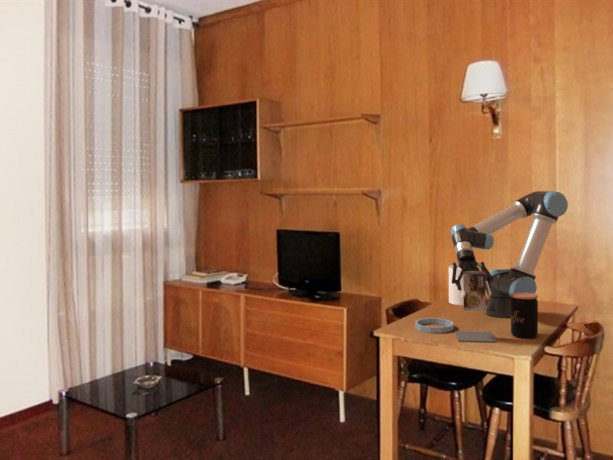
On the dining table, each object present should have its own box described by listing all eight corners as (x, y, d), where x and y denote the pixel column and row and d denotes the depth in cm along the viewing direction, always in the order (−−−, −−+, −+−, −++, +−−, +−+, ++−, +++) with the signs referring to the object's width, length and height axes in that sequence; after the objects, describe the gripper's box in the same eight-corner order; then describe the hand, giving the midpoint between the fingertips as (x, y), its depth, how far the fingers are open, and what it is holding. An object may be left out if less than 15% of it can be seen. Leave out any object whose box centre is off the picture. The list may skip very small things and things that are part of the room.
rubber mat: (490, 333, 226) (490, 331, 226) (496, 342, 212) (496, 341, 212) (454, 332, 229) (454, 331, 229) (458, 341, 215) (458, 340, 215)
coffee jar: (506, 333, 226) (506, 292, 224) (529, 331, 227) (529, 291, 225) (518, 340, 215) (518, 297, 214) (542, 338, 216) (543, 296, 215)
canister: (443, 300, 294) (443, 265, 292) (468, 298, 297) (468, 264, 296) (458, 306, 278) (457, 269, 276) (484, 304, 282) (484, 268, 280)
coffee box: (485, 308, 221) (485, 271, 220) (485, 311, 215) (485, 273, 214) (463, 307, 224) (463, 270, 223) (463, 310, 218) (462, 273, 217)
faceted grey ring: (451, 323, 244) (451, 318, 244) (455, 333, 227) (455, 327, 227) (414, 322, 247) (414, 317, 247) (416, 332, 230) (416, 327, 230)
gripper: (488, 258, 233) (501, 299, 219) (438, 259, 233) (448, 301, 219) (492, 248, 228) (506, 290, 213) (441, 249, 228) (451, 291, 213)
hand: (476, 295), depth 216 cm, fingers closed on coffee box, 10 cm apart
